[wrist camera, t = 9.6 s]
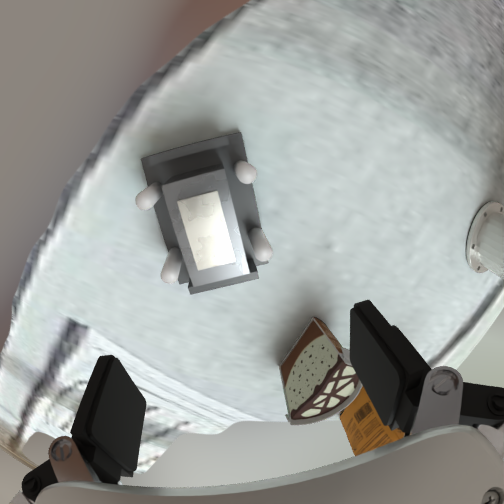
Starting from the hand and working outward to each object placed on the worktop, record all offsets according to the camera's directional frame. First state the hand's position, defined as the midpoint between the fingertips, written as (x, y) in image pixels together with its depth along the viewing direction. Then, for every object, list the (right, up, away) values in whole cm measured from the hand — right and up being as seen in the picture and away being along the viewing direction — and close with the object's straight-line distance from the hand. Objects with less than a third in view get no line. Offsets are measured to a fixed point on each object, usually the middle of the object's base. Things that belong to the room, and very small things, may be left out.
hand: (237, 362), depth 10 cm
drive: (-4, +8, +18) cm, 20 cm away
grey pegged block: (-4, +8, +18) cm, 21 cm away
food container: (+9, -9, +28) cm, 31 cm away
